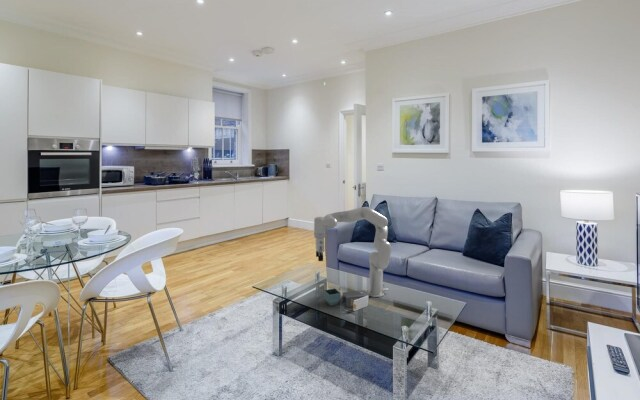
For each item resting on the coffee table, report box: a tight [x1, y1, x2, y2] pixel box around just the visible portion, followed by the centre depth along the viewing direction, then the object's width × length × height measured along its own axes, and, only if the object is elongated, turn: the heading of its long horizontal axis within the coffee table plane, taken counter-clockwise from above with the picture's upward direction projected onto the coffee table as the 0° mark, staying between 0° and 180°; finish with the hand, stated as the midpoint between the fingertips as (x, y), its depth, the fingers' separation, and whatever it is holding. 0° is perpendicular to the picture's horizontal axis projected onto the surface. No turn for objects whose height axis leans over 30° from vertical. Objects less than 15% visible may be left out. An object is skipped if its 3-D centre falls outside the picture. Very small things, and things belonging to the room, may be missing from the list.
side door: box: [352, 296, 370, 312], centre depth 233 cm, size 14×2×7 cm, turn 129°
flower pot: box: [323, 288, 341, 307], centre depth 239 cm, size 9×9×9 cm
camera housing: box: [341, 289, 370, 308], centre depth 240 cm, size 17×9×8 cm, turn 104°
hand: (319, 258), depth 242 cm, fingers open, 9 cm apart
